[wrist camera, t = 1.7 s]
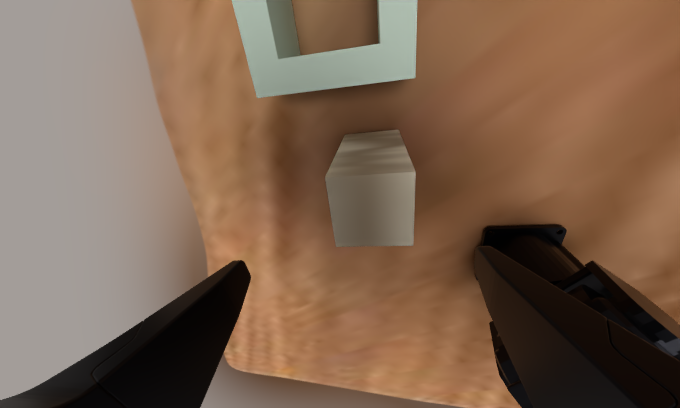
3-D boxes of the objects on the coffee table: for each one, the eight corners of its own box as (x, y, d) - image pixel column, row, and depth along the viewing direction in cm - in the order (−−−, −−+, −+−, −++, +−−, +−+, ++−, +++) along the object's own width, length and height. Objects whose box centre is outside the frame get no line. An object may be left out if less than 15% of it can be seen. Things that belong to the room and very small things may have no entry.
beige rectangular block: (396, 125, 19) (415, 171, 10) (397, 172, 21) (413, 245, 12) (346, 130, 20) (324, 177, 11) (351, 175, 22) (335, 246, 13)
